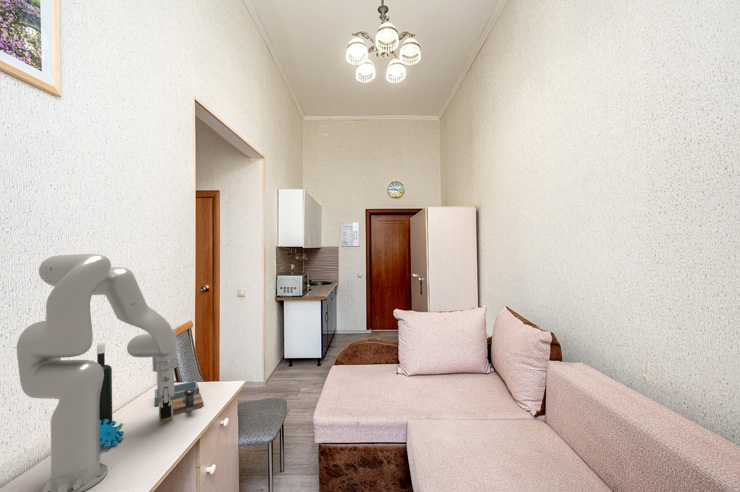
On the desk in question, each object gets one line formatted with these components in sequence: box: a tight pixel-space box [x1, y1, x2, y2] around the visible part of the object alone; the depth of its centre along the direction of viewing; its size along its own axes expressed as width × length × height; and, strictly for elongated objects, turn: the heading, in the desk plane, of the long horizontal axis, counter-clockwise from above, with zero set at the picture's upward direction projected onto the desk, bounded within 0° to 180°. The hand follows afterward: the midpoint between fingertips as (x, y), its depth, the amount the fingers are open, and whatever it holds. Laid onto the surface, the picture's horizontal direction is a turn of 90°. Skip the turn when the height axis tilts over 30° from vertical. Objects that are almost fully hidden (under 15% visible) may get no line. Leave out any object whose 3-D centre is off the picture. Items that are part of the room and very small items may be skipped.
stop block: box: [158, 400, 173, 425], centre depth 118 cm, size 4×4×6 cm
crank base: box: [172, 393, 204, 416], centre depth 128 cm, size 10×10×2 cm
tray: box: [154, 380, 200, 408], centre depth 137 cm, size 11×16×4 cm
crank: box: [183, 388, 195, 412], centre depth 124 cm, size 13×4×7 cm, turn 34°
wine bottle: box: [96, 342, 113, 425], centre depth 112 cm, size 6×6×30 cm
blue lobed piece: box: [99, 419, 125, 449], centre depth 103 cm, size 11×6×10 cm
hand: (165, 414), depth 118 cm, fingers closed on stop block, 4 cm apart
